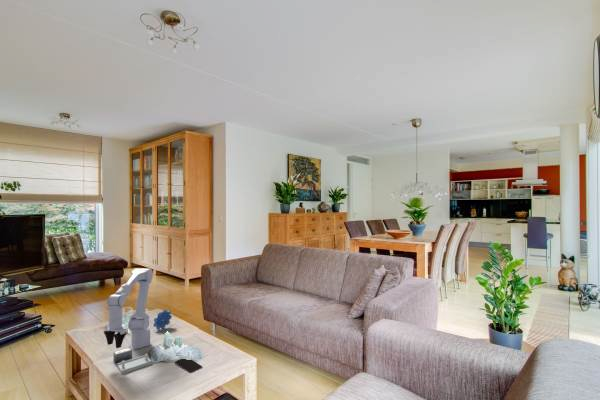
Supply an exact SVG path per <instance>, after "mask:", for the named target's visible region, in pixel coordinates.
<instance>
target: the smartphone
mask: <svg viewBox="0 0 600 400" xmlns="http://www.w3.org/2000/svg"><path fill="white" fill-rule="evenodd" d="M174 365H176V367H177V366H178V367H180V368H181V369H182V370H184V371H186V372H187V373H189V374H193V373H194V372H197V371H198V370H200V369H202V368H203V366H202V365H201V364H199V363H198V362H196V361H194V359H191V360H186V359H182V358H180V359H177V360H175V361H174Z"/></svg>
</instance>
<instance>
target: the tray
mask: <svg viewBox="0 0 600 400" xmlns="http://www.w3.org/2000/svg"><path fill="white" fill-rule="evenodd" d="M150 365H153V360H151V358H150V357H149V355H148V353H145V354H144V355H140V356H137V357H135V358H132V359H130V360H127V361H122V362H121V363H117V365H116V367H117V369H118V370H119V371H120V373H121V375H124V374H126V373H129V372H132V371H136V370H138V369H142V368H145V367H149V366H150Z"/></svg>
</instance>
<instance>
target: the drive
mask: <svg viewBox="0 0 600 400" xmlns="http://www.w3.org/2000/svg"><path fill="white" fill-rule="evenodd" d="M133 351H134V350H133V349H132V348H131V347H127V348H124V349H121V350H116V351H114V352H113V363H114V365H116V364H118V363H121V362H122V361H127V360H131V359H133Z"/></svg>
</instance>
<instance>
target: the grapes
mask: <svg viewBox="0 0 600 400" xmlns="http://www.w3.org/2000/svg"><path fill="white" fill-rule="evenodd" d="M172 317H173V316H172V313H171V311H170V310H167V309H164V310H162V311H160V312H158V313H157V316H155V318H154V319H153V327H154V328H155V329H156V330H157V331H158V330H160V329H162V330H163V329H165V328H166V326H168V325H169V324H170V322H171V321H170V320H172Z"/></svg>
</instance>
